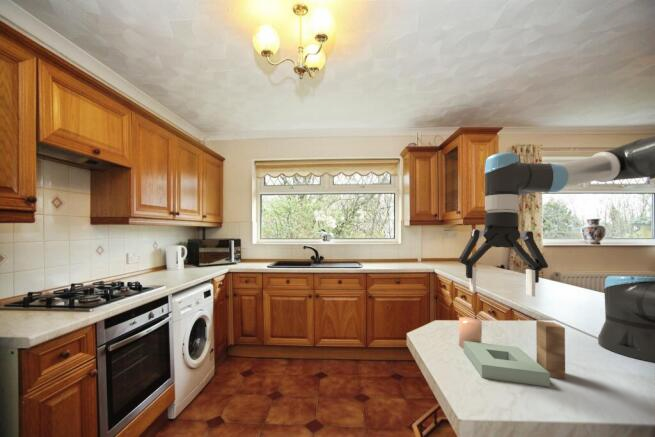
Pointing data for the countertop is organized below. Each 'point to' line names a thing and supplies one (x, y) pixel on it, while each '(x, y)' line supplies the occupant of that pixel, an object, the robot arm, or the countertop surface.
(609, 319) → the robot arm
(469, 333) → the round peg
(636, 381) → the countertop surface
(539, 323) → the square peg
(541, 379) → the bore plate
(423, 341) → the countertop surface
